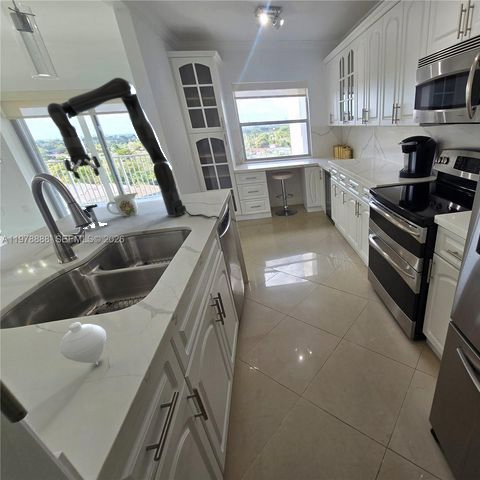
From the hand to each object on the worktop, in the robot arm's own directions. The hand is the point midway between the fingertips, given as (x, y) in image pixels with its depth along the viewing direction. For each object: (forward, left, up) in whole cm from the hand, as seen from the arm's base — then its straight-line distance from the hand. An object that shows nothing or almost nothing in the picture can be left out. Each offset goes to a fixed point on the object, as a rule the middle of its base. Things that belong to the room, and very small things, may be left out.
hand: (88, 177), depth 141 cm
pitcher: (+5, -14, -28) cm, 32 cm away
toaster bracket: (+4, +6, -28) cm, 29 cm away
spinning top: (-114, +53, -28) cm, 129 cm away
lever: (-1, +6, -18) cm, 19 cm away
